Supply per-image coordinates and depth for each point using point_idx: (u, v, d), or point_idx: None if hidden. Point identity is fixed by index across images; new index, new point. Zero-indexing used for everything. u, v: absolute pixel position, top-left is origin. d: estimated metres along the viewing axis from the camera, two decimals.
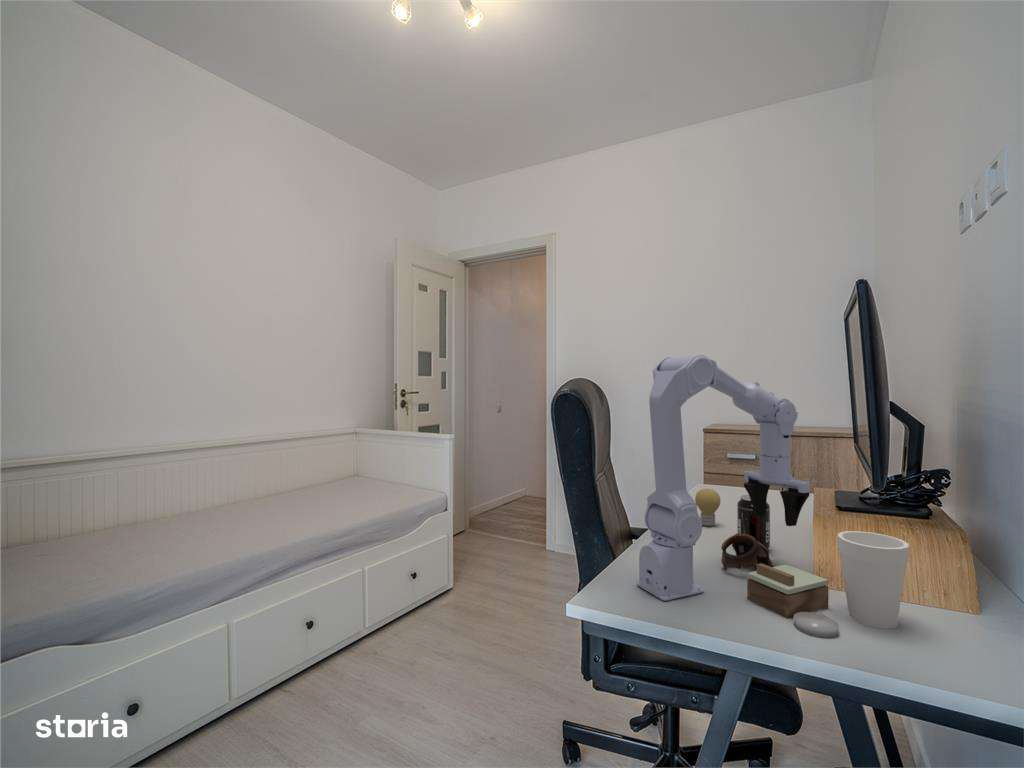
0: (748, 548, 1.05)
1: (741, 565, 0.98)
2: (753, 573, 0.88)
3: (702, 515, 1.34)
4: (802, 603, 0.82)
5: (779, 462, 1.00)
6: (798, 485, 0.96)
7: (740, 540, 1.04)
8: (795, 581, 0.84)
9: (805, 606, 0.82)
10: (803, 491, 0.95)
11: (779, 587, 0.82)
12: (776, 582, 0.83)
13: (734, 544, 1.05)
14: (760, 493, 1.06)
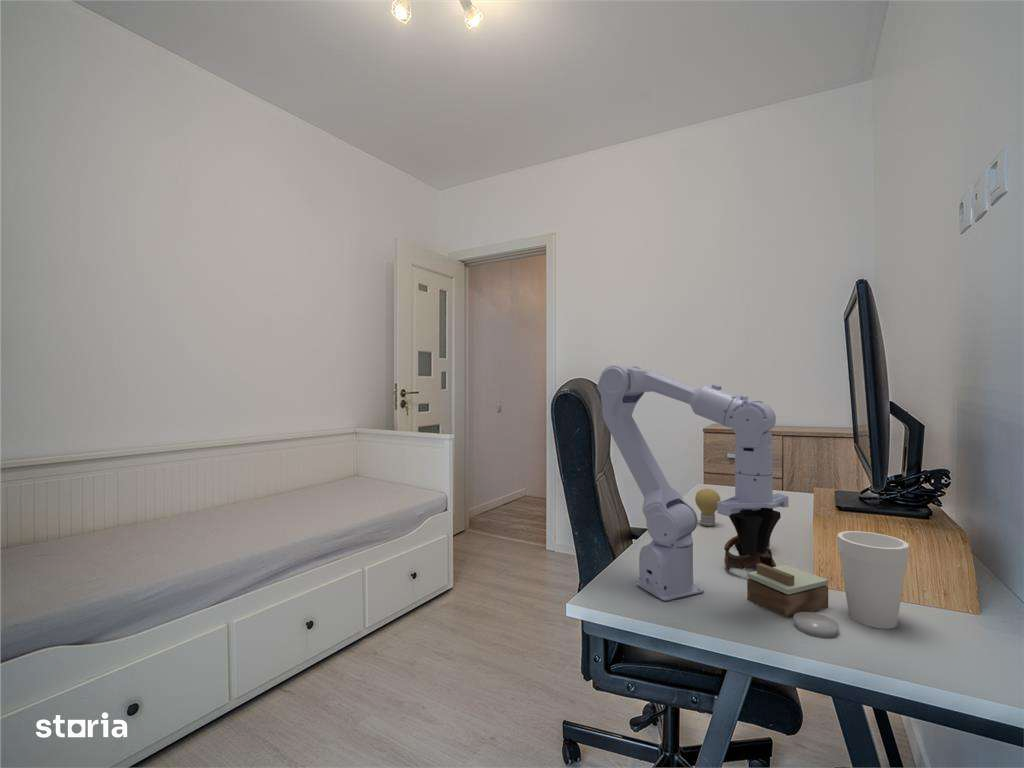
0: None
1: (744, 565, 0.97)
2: (753, 573, 0.88)
3: (702, 515, 1.34)
4: (802, 603, 0.82)
5: (736, 478, 0.83)
6: None
7: None
8: (795, 581, 0.84)
9: (805, 606, 0.82)
10: (718, 511, 0.81)
11: (779, 587, 0.82)
12: (776, 582, 0.83)
13: (737, 544, 1.05)
14: None
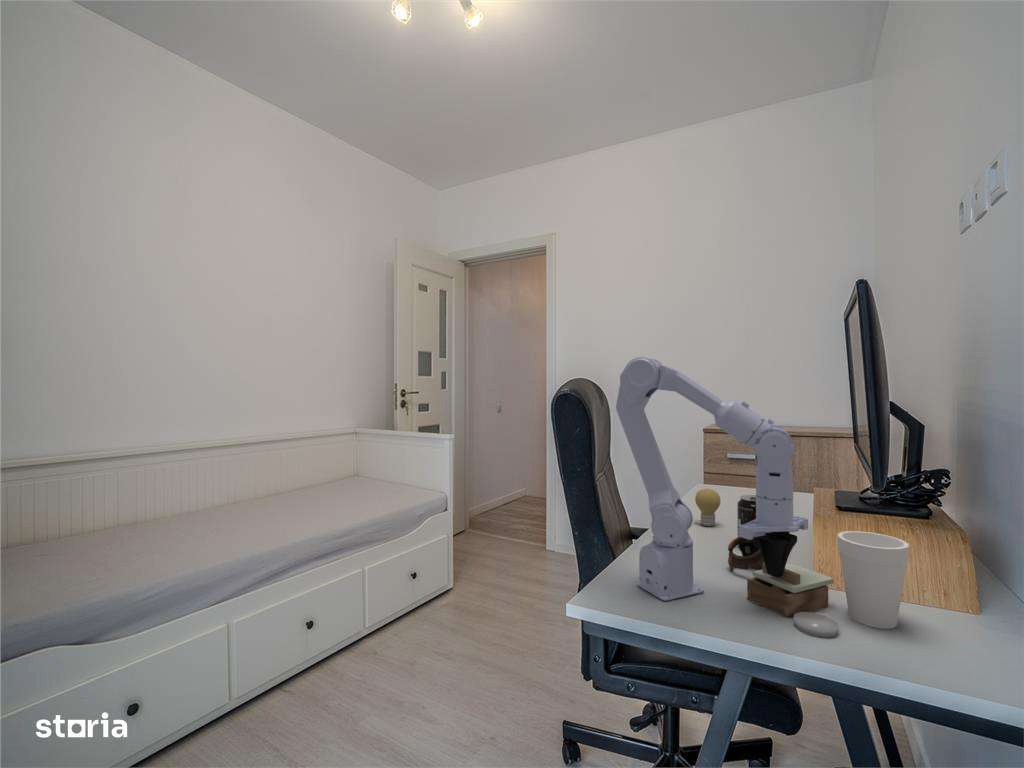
0: (754, 549, 1.04)
1: (748, 566, 0.97)
2: (759, 572, 0.88)
3: (702, 515, 1.34)
4: (802, 603, 0.82)
5: (757, 501, 0.85)
6: None
7: (746, 541, 1.03)
8: (801, 580, 0.84)
9: (805, 606, 0.82)
10: (740, 535, 0.83)
11: (785, 586, 0.83)
12: (782, 581, 0.84)
13: (740, 545, 1.05)
14: None
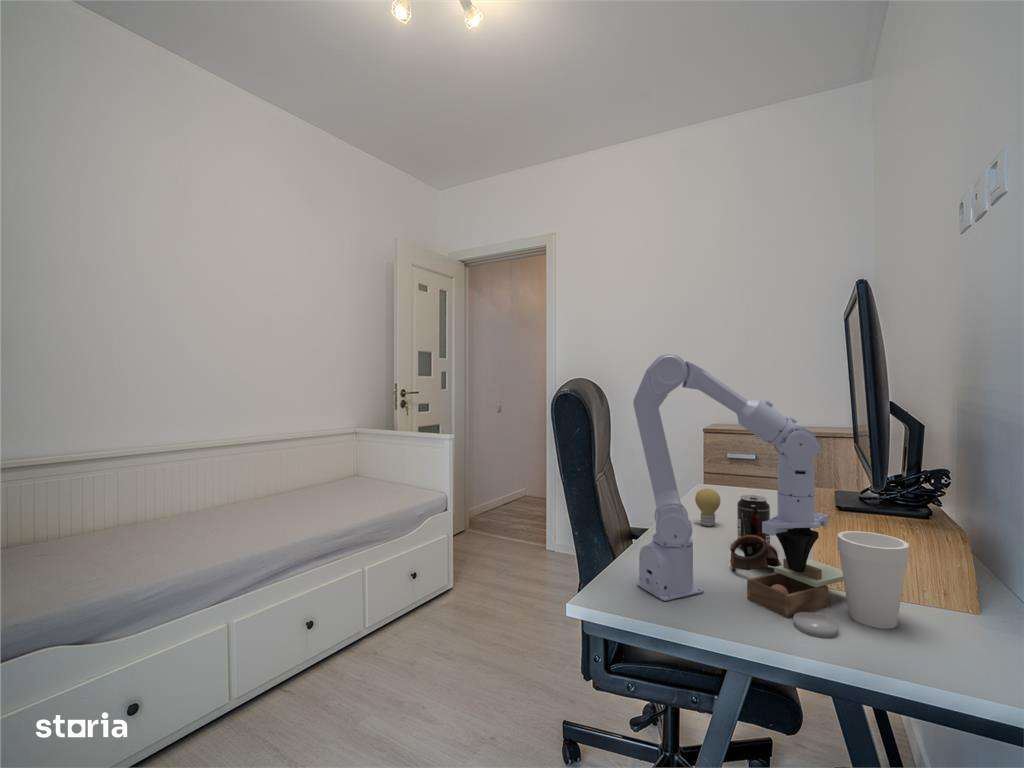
0: (756, 549, 1.04)
1: (750, 566, 0.97)
2: (780, 567, 0.90)
3: (702, 515, 1.34)
4: (802, 603, 0.82)
5: (778, 499, 0.87)
6: None
7: (749, 541, 1.03)
8: (822, 575, 0.87)
9: (805, 606, 0.82)
10: (763, 531, 0.85)
11: (807, 580, 0.85)
12: (803, 576, 0.86)
13: (742, 545, 1.04)
14: None
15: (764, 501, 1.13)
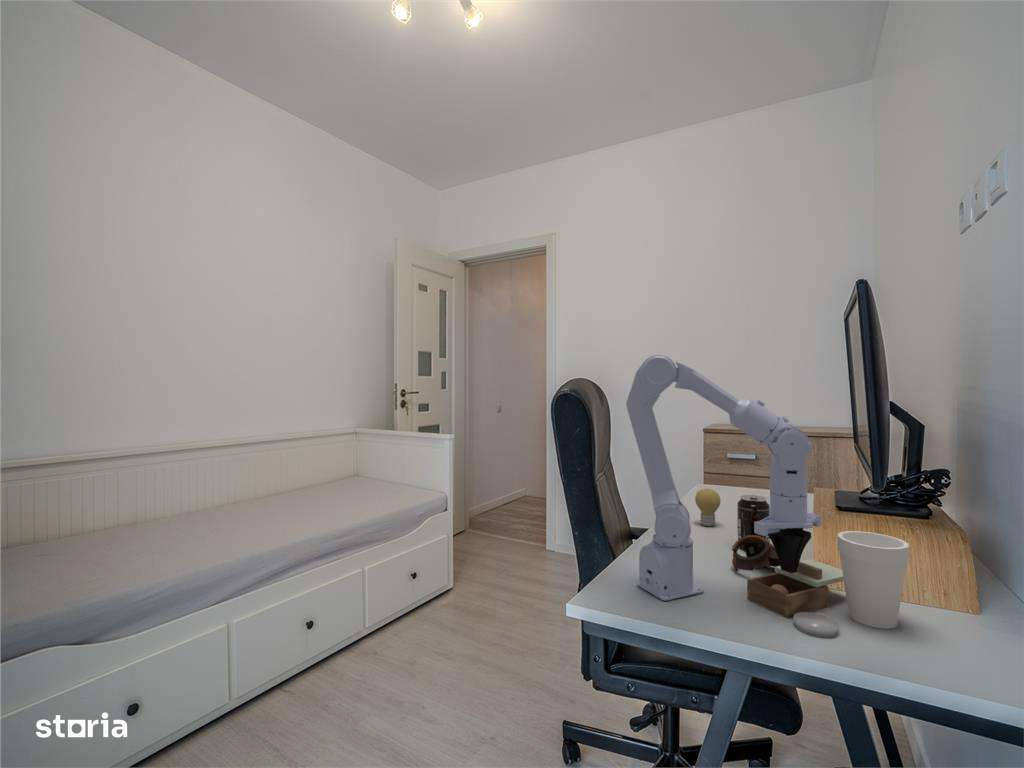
0: (758, 549, 1.04)
1: (753, 567, 0.97)
2: (780, 567, 0.90)
3: (702, 515, 1.34)
4: (802, 603, 0.82)
5: (771, 499, 0.87)
6: None
7: (751, 541, 1.03)
8: (822, 575, 0.87)
9: (805, 606, 0.82)
10: (755, 531, 0.84)
11: (807, 580, 0.85)
12: (804, 576, 0.86)
13: (744, 545, 1.04)
14: None
15: (764, 501, 1.13)
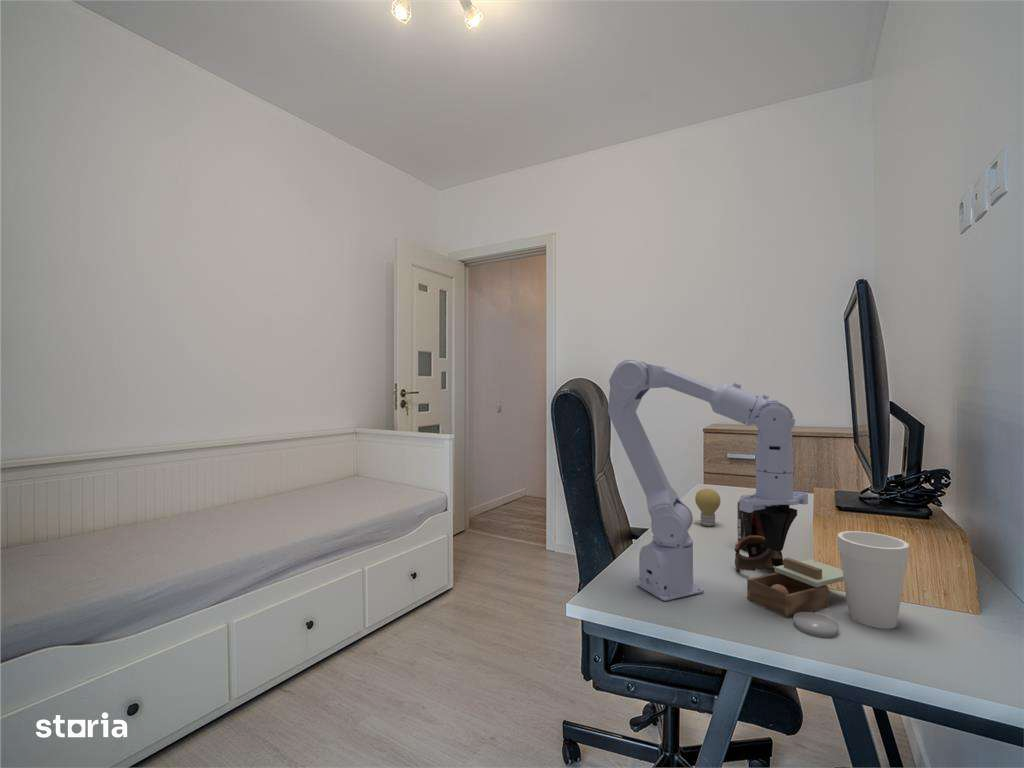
0: (761, 549, 1.04)
1: (755, 567, 0.97)
2: (780, 567, 0.90)
3: (702, 515, 1.34)
4: (802, 603, 0.82)
5: (757, 476, 0.85)
6: None
7: (753, 541, 1.03)
8: (822, 575, 0.87)
9: (805, 606, 0.82)
10: (740, 508, 0.83)
11: (807, 580, 0.85)
12: (804, 576, 0.86)
13: (747, 545, 1.04)
14: None
15: None
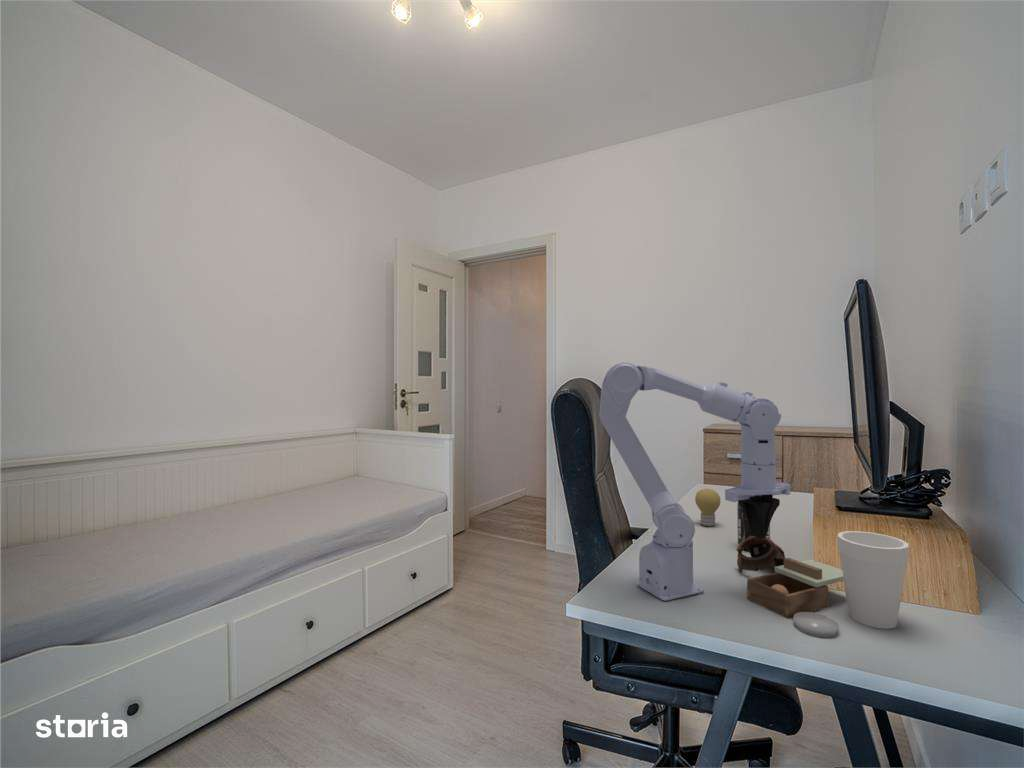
0: (763, 550, 1.04)
1: (758, 567, 0.96)
2: (780, 567, 0.90)
3: (702, 515, 1.34)
4: (802, 603, 0.82)
5: (742, 468, 0.91)
6: None
7: (755, 542, 1.03)
8: (822, 575, 0.87)
9: (805, 606, 0.82)
10: (726, 498, 0.88)
11: (807, 580, 0.85)
12: (804, 576, 0.86)
13: (749, 546, 1.04)
14: None
15: None
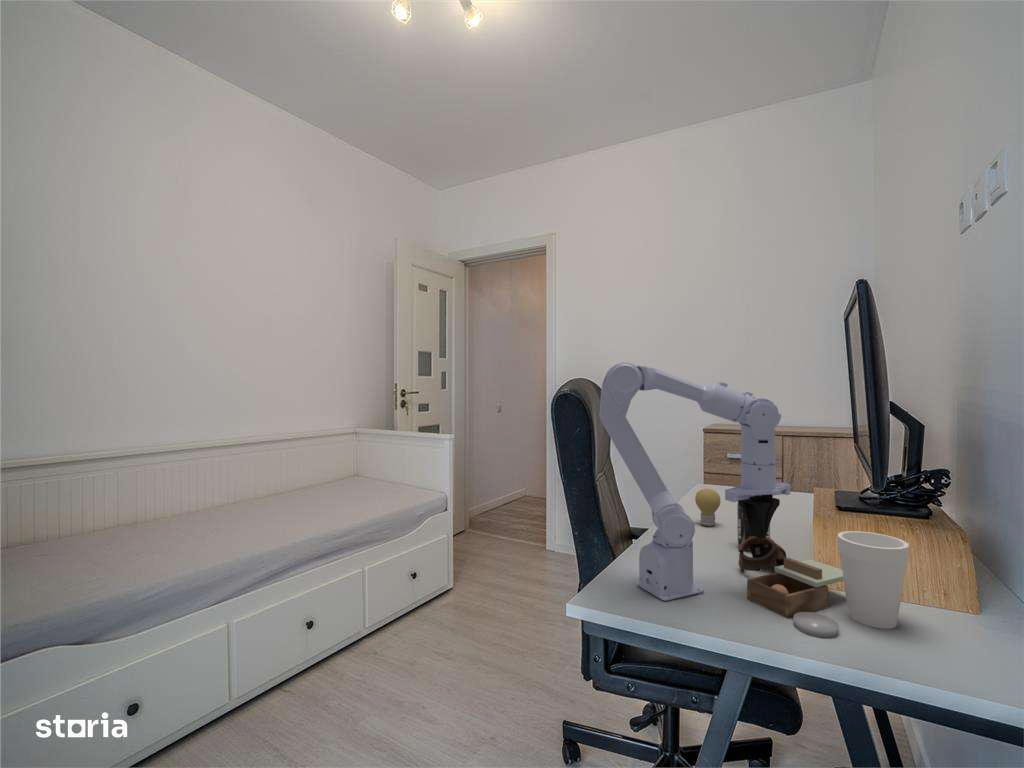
0: (765, 550, 1.03)
1: (760, 568, 0.96)
2: (780, 567, 0.90)
3: (702, 515, 1.34)
4: (802, 603, 0.82)
5: (742, 468, 0.91)
6: None
7: (757, 542, 1.02)
8: (822, 575, 0.87)
9: (805, 606, 0.82)
10: (726, 498, 0.88)
11: (807, 580, 0.85)
12: (804, 576, 0.86)
13: (750, 546, 1.04)
14: None
15: None
